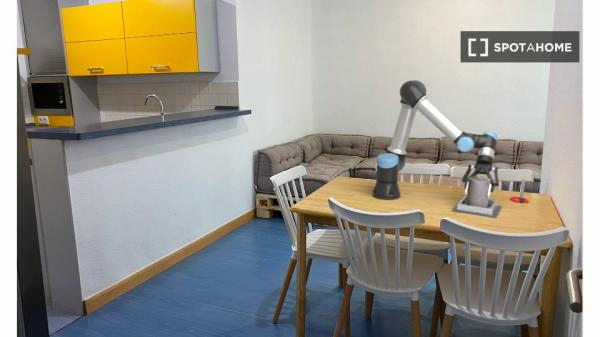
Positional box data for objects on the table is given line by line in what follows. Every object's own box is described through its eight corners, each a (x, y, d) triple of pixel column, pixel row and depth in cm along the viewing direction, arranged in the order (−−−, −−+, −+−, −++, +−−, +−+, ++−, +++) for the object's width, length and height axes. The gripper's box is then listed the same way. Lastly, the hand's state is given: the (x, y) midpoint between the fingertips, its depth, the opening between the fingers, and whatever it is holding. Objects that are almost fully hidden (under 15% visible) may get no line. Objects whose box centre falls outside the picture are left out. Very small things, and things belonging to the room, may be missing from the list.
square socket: (452, 211, 201) (452, 204, 201) (460, 202, 216) (460, 195, 215) (496, 218, 191) (497, 210, 190) (501, 207, 205) (502, 200, 205)
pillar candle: (464, 202, 208) (466, 173, 205) (484, 202, 207) (486, 173, 204) (470, 208, 199) (472, 178, 195) (491, 208, 198) (493, 178, 195)
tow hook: (507, 198, 222) (513, 202, 213) (509, 175, 220) (515, 178, 211) (523, 199, 221) (530, 203, 212) (525, 175, 219) (532, 179, 210)
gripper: (509, 164, 206) (502, 202, 196) (463, 160, 217) (454, 196, 208) (509, 155, 200) (501, 194, 191) (461, 152, 212) (452, 188, 202)
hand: (477, 195), depth 199 cm, fingers closed on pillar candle, 9 cm apart
